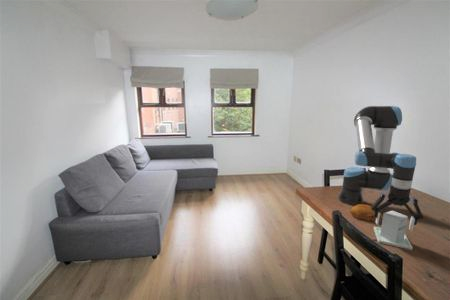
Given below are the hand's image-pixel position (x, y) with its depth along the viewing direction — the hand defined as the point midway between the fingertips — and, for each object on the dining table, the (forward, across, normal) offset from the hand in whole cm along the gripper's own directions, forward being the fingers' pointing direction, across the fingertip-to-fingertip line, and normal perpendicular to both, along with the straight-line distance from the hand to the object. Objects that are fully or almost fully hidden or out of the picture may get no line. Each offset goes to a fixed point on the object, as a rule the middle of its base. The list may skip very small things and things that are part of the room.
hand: (393, 226), depth 107 cm
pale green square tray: (+7, 0, 0) cm, 7 cm away
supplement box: (+6, 0, 0) cm, 6 cm away
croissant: (+7, -9, +20) cm, 23 cm away
